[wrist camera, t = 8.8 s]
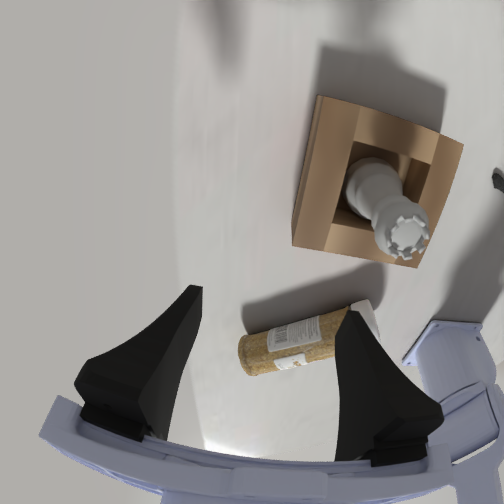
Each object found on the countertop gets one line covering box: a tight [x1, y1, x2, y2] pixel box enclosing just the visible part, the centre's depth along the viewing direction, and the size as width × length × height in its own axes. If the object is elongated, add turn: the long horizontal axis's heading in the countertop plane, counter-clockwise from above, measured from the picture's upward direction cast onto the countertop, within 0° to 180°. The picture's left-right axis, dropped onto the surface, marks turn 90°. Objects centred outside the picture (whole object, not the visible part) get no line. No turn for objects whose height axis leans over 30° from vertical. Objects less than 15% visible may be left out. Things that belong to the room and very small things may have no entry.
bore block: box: [291, 95, 464, 268], centre depth 18 cm, size 10×10×4 cm
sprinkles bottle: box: [238, 299, 380, 376], centre depth 26 cm, size 5×5×14 cm
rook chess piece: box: [342, 157, 430, 260], centre depth 16 cm, size 4×4×8 cm
